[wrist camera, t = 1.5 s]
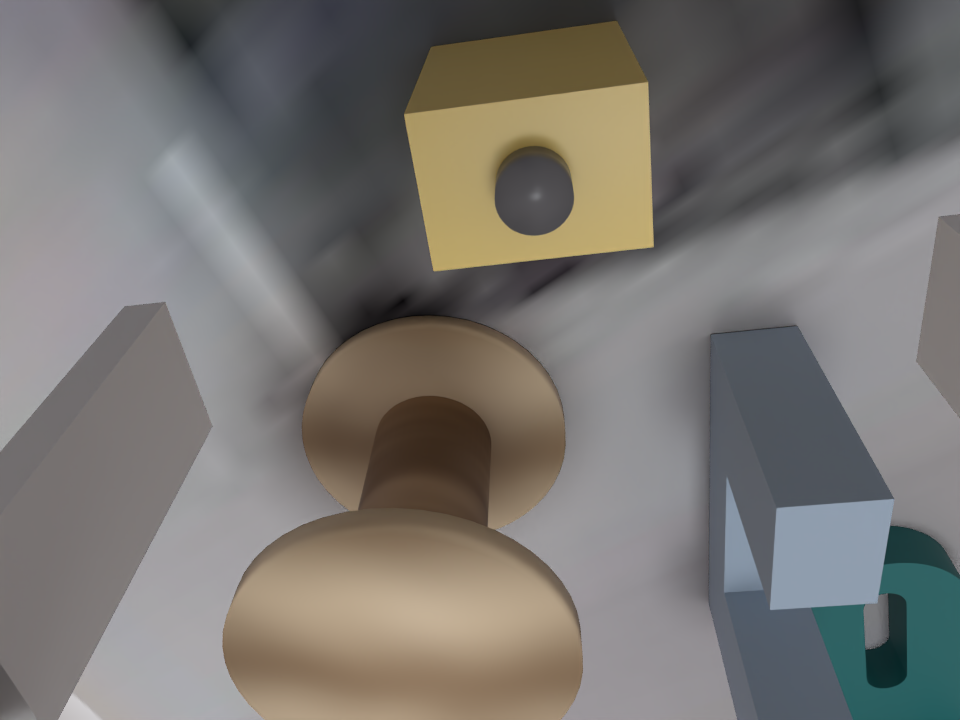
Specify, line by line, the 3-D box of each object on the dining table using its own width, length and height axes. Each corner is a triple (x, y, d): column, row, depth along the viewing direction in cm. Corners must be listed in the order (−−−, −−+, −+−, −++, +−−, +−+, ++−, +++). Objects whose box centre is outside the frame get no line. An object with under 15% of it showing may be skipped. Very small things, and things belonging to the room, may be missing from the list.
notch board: (710, 334, 30) (776, 508, 22) (797, 326, 29) (894, 498, 22) (708, 602, 37) (757, 801, 30) (777, 598, 37) (844, 797, 29)
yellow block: (431, 46, 25) (398, 127, 18) (616, 20, 24) (654, 94, 18) (452, 174, 27) (430, 289, 20) (623, 153, 26) (659, 265, 20)
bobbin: (277, 330, 30) (171, 551, 21) (551, 301, 29) (567, 521, 20) (340, 530, 36) (277, 777, 26) (574, 512, 35) (594, 763, 25)
